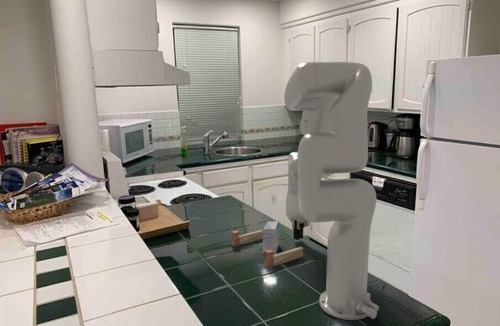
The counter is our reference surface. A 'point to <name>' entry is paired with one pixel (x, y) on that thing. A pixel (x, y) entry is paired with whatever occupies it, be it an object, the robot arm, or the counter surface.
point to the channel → (270, 258)
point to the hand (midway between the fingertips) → (298, 238)
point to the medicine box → (271, 236)
